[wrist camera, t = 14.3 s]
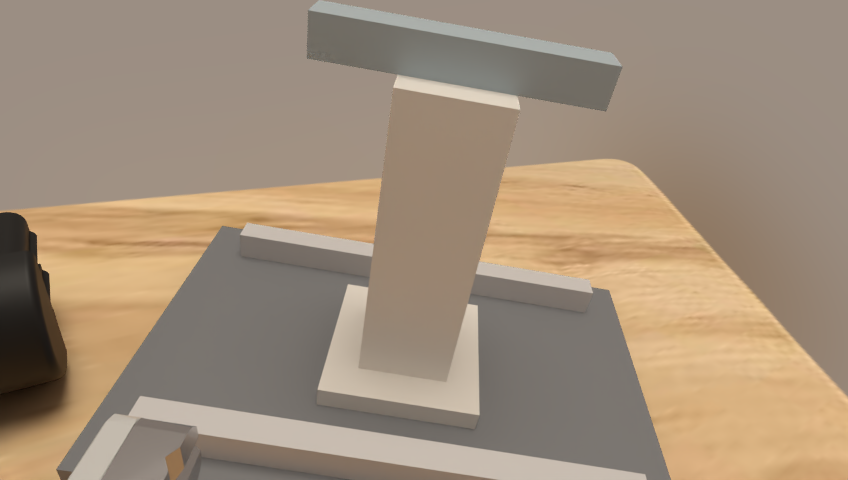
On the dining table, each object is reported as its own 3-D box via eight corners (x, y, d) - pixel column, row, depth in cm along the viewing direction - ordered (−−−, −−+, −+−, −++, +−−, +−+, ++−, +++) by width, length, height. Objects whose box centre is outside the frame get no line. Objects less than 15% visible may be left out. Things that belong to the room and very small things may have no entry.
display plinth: (66, 491, 20) (45, 445, 19) (223, 245, 33) (220, 205, 32) (681, 583, 21) (717, 546, 19) (600, 307, 34) (617, 271, 32)
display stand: (508, 434, 24) (645, 97, 15) (282, 399, 23) (282, 32, 14) (500, 323, 29) (596, 32, 20) (319, 293, 29) (336, -16, 20)
